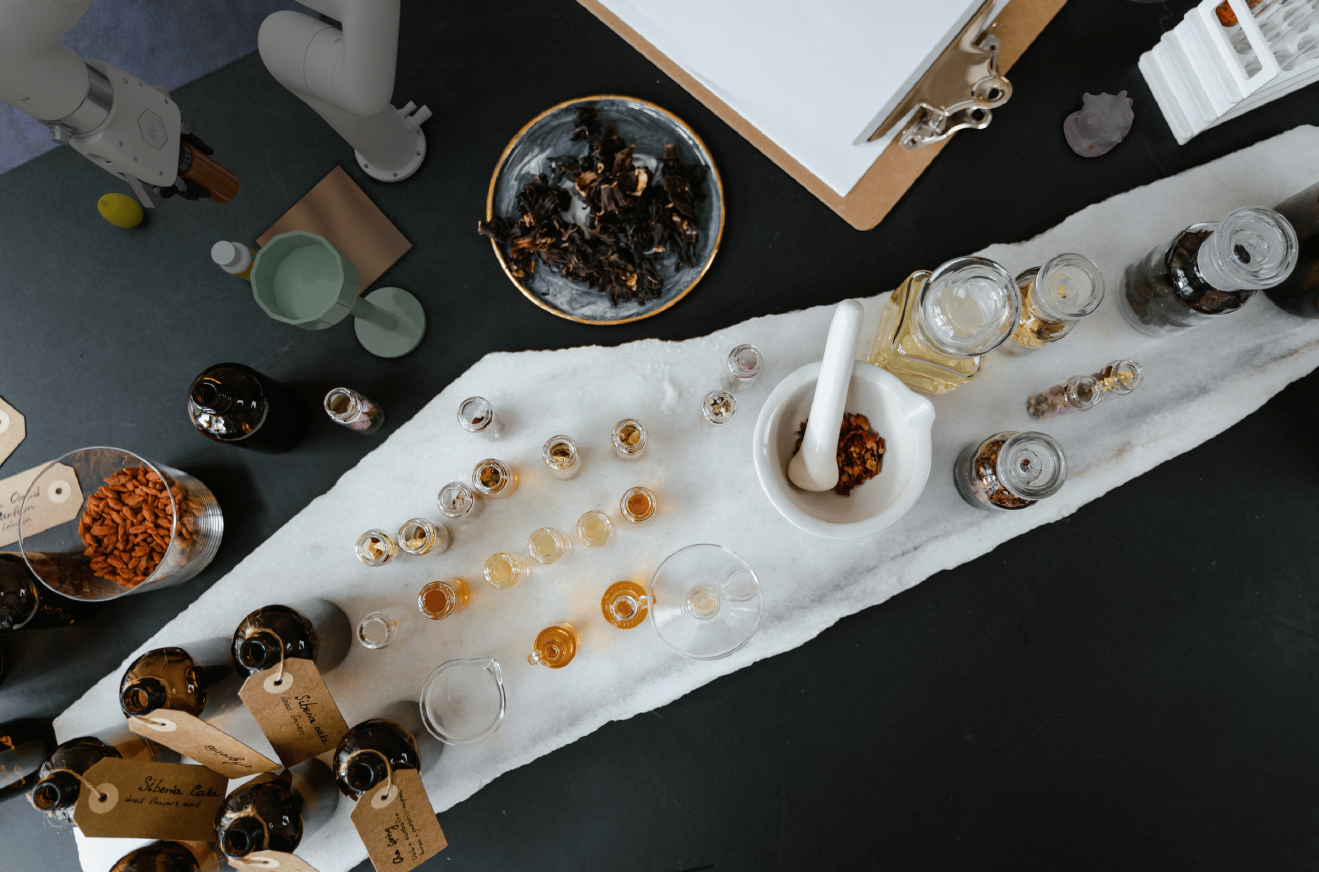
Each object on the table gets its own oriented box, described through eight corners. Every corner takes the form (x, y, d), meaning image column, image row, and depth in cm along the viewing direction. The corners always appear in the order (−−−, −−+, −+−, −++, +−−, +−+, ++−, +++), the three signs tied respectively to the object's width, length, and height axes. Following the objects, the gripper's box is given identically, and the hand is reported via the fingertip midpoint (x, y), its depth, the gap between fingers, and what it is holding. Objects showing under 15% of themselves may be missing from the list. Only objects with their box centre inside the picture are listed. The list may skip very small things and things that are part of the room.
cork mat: (340, 166, 118) (338, 164, 118) (413, 246, 117) (412, 245, 117) (257, 241, 118) (255, 240, 118) (330, 323, 117) (328, 322, 117)
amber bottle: (223, 161, 88) (170, 125, 79) (246, 186, 88) (196, 154, 79) (196, 185, 88) (140, 153, 79) (220, 211, 88) (166, 181, 79)
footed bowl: (394, 274, 117) (300, 211, 88) (440, 324, 117) (361, 279, 88) (342, 321, 117) (232, 274, 88) (388, 372, 117) (292, 342, 88)
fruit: (131, 199, 119) (92, 180, 111) (159, 209, 119) (121, 191, 111) (119, 227, 119) (79, 210, 111) (147, 238, 119) (109, 222, 111)
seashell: (1050, 116, 115) (1083, 85, 106) (1112, 84, 115) (1150, 51, 105) (1078, 167, 114) (1114, 140, 105) (1141, 135, 114) (1182, 106, 105)
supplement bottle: (238, 267, 118) (200, 250, 109) (262, 248, 118) (225, 229, 109) (257, 290, 118) (219, 275, 108) (280, 271, 118) (245, 254, 108)
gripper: (99, 178, 65) (225, 240, 84) (112, 11, 66) (234, 108, 84) (26, 176, 66) (167, 239, 84) (39, 9, 66) (177, 107, 85)
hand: (200, 173), depth 84 cm, fingers closed on amber bottle, 4 cm apart
